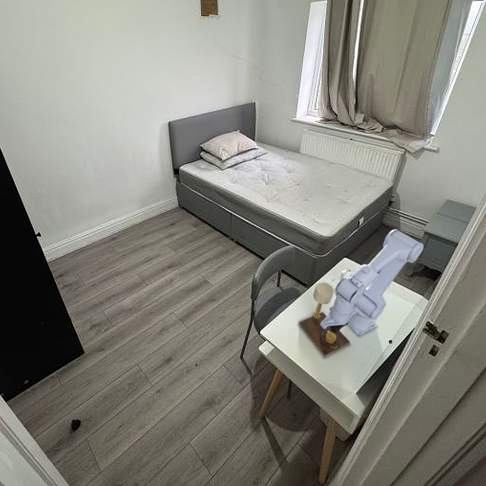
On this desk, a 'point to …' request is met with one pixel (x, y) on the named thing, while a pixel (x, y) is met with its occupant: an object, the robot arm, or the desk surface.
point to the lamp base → (322, 335)
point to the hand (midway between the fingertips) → (333, 331)
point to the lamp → (322, 296)
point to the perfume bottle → (346, 274)
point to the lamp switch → (330, 337)
